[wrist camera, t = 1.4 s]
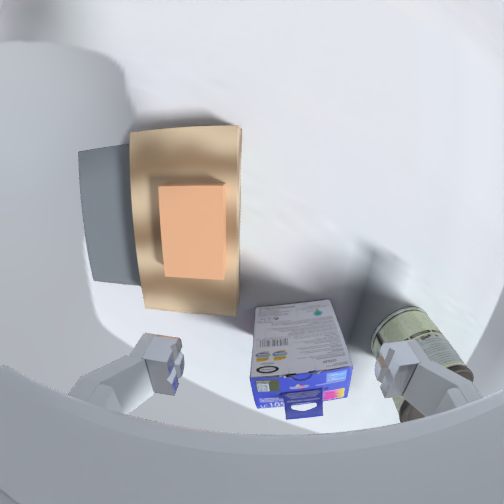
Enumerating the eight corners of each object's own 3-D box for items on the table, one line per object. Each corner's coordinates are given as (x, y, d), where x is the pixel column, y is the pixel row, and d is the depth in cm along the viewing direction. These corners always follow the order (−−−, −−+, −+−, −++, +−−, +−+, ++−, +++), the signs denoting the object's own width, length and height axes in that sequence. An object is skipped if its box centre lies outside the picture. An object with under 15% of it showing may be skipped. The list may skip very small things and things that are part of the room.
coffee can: (436, 331, 35) (478, 390, 22) (387, 369, 38) (414, 436, 24) (415, 292, 32) (467, 356, 19) (358, 337, 35) (388, 413, 22)
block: (165, 183, 25) (158, 186, 23) (226, 183, 25) (222, 185, 23) (171, 268, 28) (165, 276, 27) (226, 271, 28) (223, 280, 26)
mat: (79, 151, 28) (78, 151, 28) (145, 142, 28) (144, 142, 27) (94, 279, 34) (93, 280, 34) (155, 285, 34) (154, 286, 34)
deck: (145, 134, 27) (129, 132, 24) (241, 129, 27) (237, 125, 23) (156, 292, 34) (145, 308, 31) (239, 298, 34) (236, 316, 30)
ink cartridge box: (258, 340, 36) (253, 427, 23) (252, 306, 34) (244, 394, 21) (330, 331, 35) (353, 416, 22) (330, 297, 33) (361, 381, 20)
